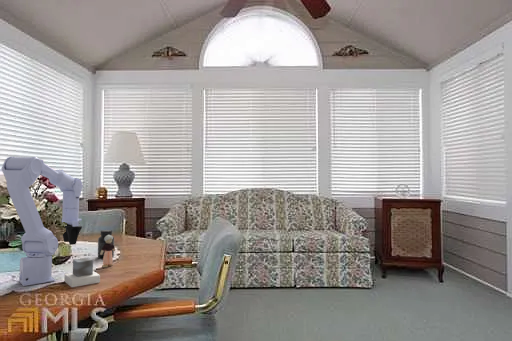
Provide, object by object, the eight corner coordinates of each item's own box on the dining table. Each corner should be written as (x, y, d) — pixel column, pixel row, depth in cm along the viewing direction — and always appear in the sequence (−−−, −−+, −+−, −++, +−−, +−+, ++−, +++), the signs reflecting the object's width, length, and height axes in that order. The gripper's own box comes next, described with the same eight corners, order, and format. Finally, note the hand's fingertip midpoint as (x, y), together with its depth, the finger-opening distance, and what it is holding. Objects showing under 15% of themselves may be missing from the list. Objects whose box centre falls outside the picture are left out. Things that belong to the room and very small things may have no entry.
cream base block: (71, 288, 117) (71, 279, 117) (64, 282, 124) (64, 273, 124) (99, 283, 123) (100, 275, 123) (91, 278, 130) (91, 269, 130)
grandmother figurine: (106, 268, 142) (107, 236, 142) (98, 267, 143) (98, 236, 143) (117, 263, 149) (118, 233, 150) (109, 263, 150) (110, 233, 150)
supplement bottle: (116, 256, 163) (117, 230, 163) (103, 259, 157) (104, 232, 157) (107, 254, 167) (108, 229, 167) (94, 257, 161) (95, 230, 161)
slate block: (77, 277, 120) (77, 262, 120) (72, 274, 124) (73, 259, 124) (92, 274, 124) (93, 260, 124) (87, 271, 127) (88, 257, 127)
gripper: (87, 209, 137) (86, 244, 136) (76, 206, 147) (75, 239, 147) (67, 210, 132) (66, 246, 132) (57, 207, 143) (56, 241, 142)
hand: (69, 243), depth 139 cm, fingers open, 7 cm apart
